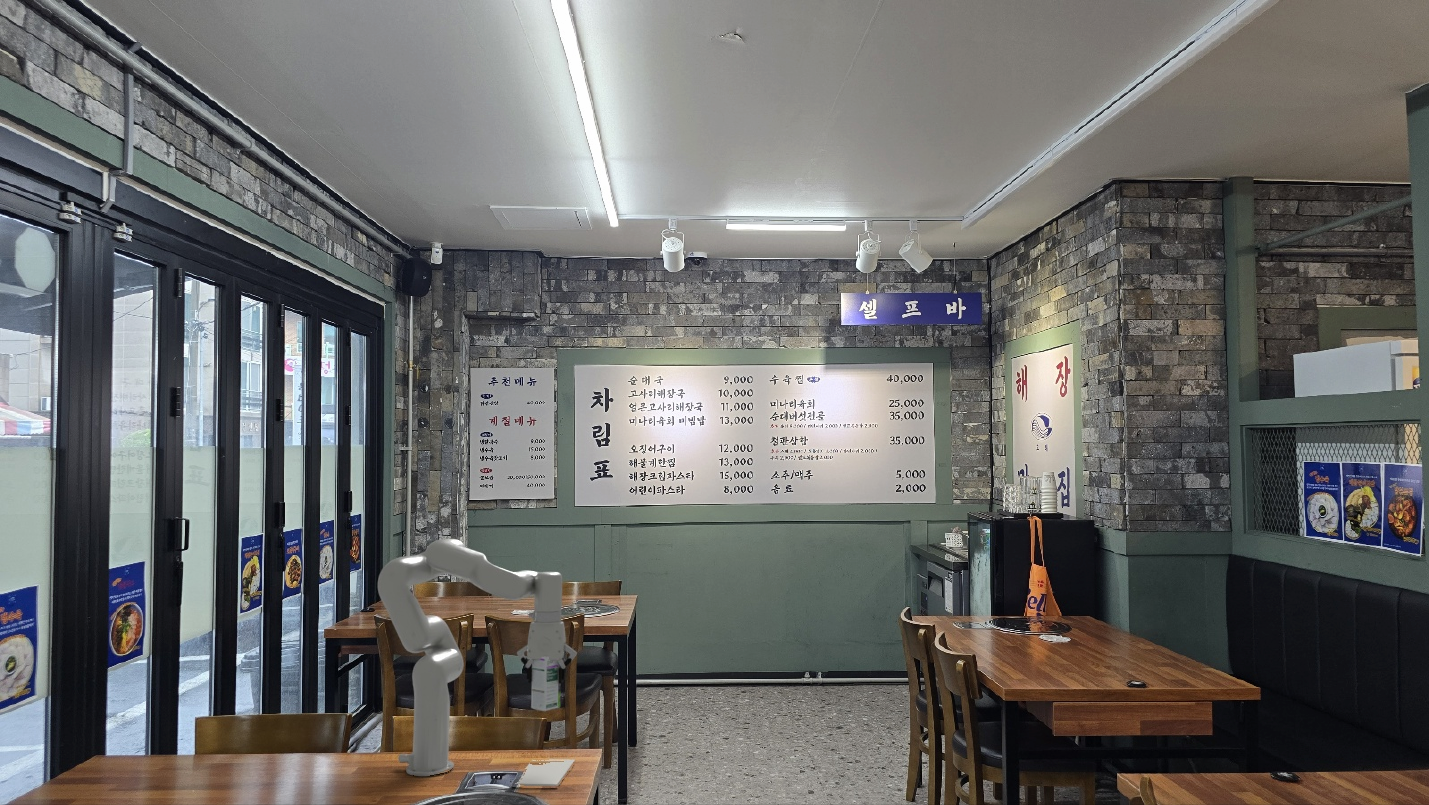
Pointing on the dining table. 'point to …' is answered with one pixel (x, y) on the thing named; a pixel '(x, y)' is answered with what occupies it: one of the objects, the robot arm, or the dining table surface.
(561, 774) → the cutting board
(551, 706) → the syrup box
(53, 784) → the dining table surface
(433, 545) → the robot arm
